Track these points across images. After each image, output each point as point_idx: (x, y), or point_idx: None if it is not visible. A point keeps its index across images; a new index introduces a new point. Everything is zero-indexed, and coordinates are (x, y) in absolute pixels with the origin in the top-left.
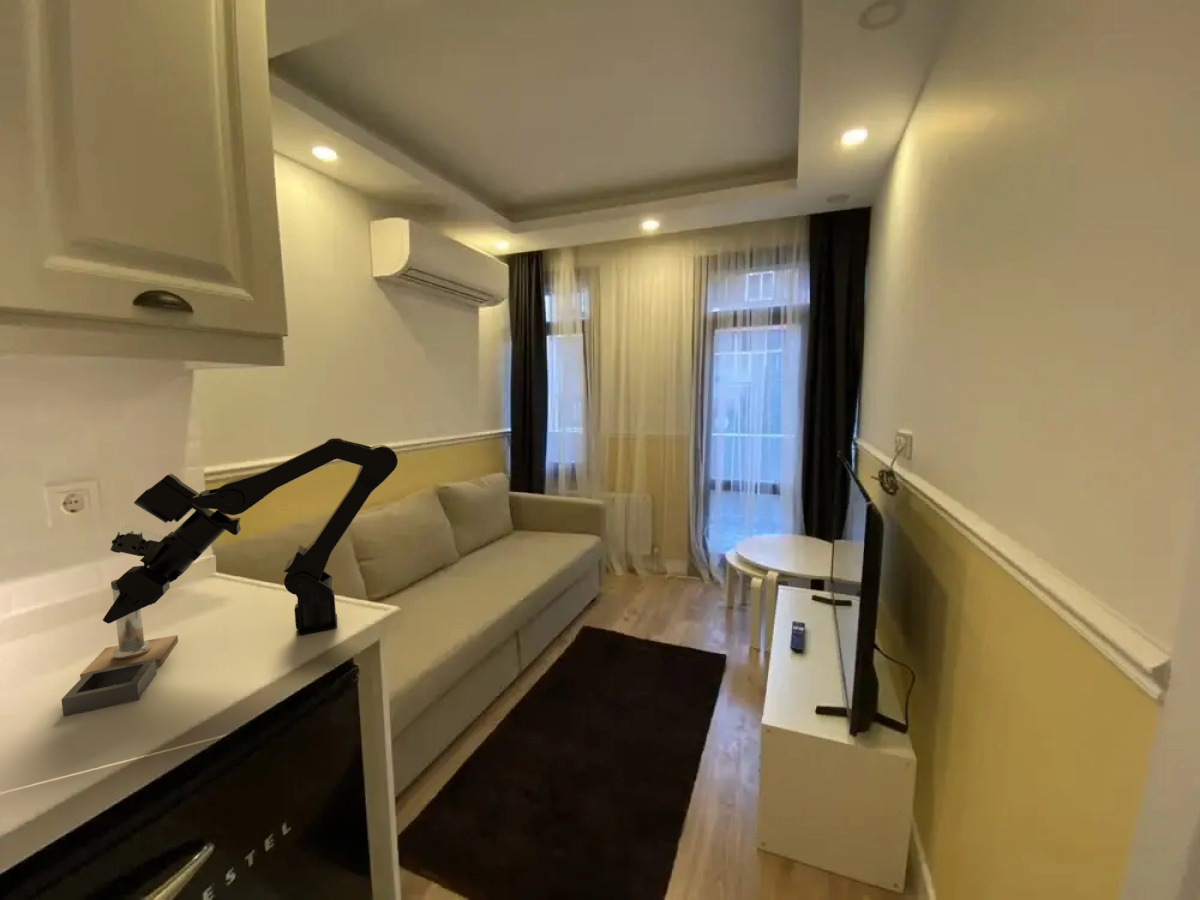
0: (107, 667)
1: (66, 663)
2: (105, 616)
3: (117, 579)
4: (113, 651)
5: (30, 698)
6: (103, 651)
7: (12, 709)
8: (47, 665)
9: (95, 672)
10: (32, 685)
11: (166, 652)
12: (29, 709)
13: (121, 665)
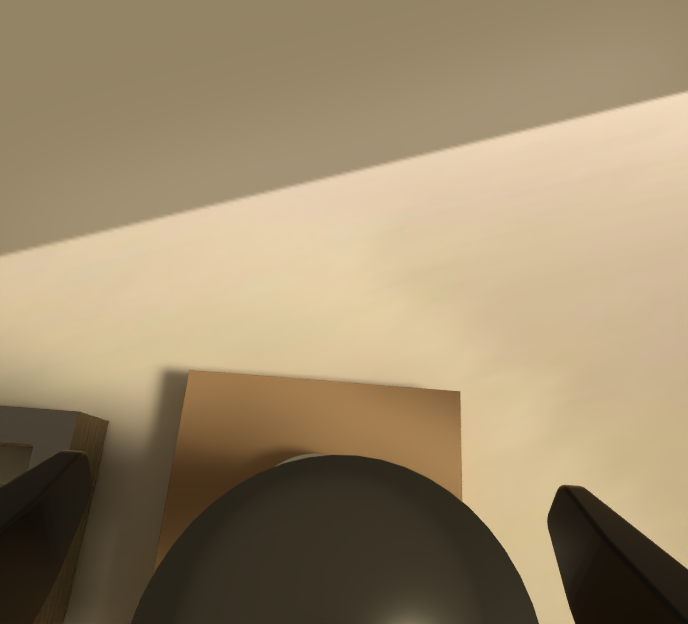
0: (193, 459)
1: (442, 280)
2: (20, 476)
3: (463, 519)
4: (312, 454)
5: (169, 259)
6: (416, 393)
7: (111, 235)
8: (457, 229)
9: (41, 449)
10: (289, 235)
11: None
12: (68, 281)
13: (176, 516)
